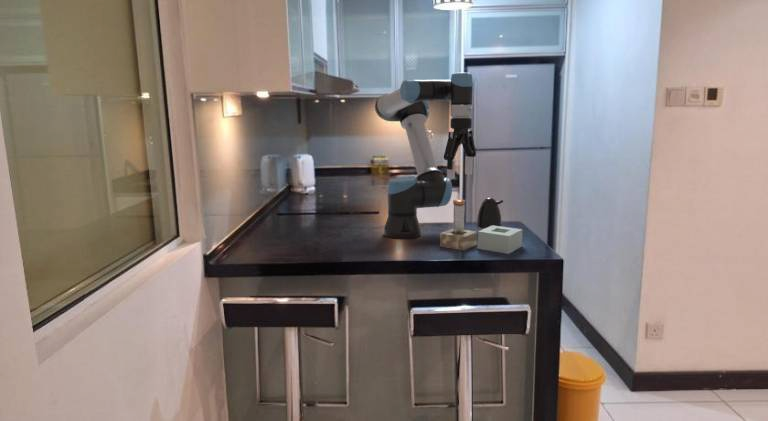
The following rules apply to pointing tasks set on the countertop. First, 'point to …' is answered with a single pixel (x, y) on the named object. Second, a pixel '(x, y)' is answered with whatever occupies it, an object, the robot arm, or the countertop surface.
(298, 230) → the countertop surface
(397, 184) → the robot arm
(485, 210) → the pump dispenser
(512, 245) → the dock
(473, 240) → the block
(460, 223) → the pin
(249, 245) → the countertop surface
